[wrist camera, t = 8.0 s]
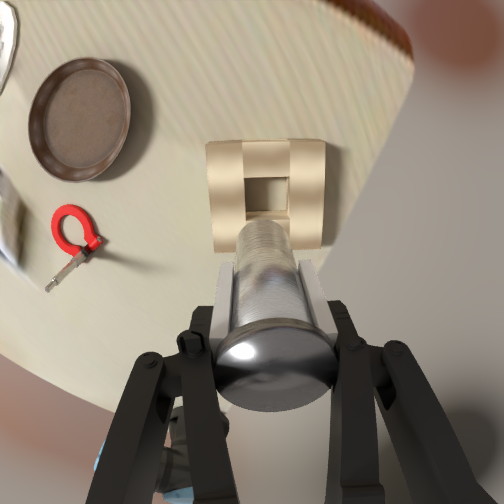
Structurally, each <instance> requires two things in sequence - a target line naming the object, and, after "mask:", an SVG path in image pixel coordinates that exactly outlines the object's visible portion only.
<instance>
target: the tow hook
mask: <svg viewBox="0 0 504 504" xmlns="http://www.w3.org/2000/svg"><path fill="white" fill-rule="evenodd" d="M64 215H72V216H75V217H76V218H77V219H78V220H79V221H80V222H81V224H82V226H83V229H84V239H85V241H86V242H87V243H88V244H87V245H86V246H85V247H84V248H82V249H81V248H80V247H79V246H78V245H77V246H75V245H71V244H69V243H68V242H67V241H66V240H65V239H64V238H63V236H62V234H61V231H60V222H61V219H62V217H63V216H64ZM51 229H52V234H53V237H54V239H55V241H56V243H57V244H58V246H59V247H60V248H61V249H62V250H63V251H65V252H66V253H68V254H70V255H72V256H73V258H72V259H71V261H70V262H69V263H68V264H67V265H66V266H65V267H64V268H63V269H62V270H61V271H60V272H59V273H58V274H57V275H56V276H54V277H53V278H52V281H51V282H50V283H49V284H48V285H47V286H46V287H45V290H46V292H50V291H51V290H52V289H53V288H54V286H57V285H59V284H60V283H61V281H62V280H63V279H64V278H65V277H66V276H67V275H68V274H69V273H70V272H71V271H73V270H74V269H75V268H77V267H78V266H79V265H80V264H81V263H83V262H84V261H85V260H86V259H87V258H88V257H89V256H90V255H91V254H92V253H93V252H94V251H95V249H96V248H97V247H98V246H99V245H100V244H101V243H102V242H103V240H102V238H101V237H100V236H97V235H96V234H95V233H94V229H93V225H92V222H91V220H90V218H89V216H88V215H87V214H86V213H85V211H84V210H82V209H81V208H80V207H78V206H75V205H72V204H67V205H63V206H61V207H60V208H58V209H57V210H56V211H55V213H54V214H53V217H52V222H51Z"/></svg>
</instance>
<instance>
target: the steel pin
mask: <svg viewBox="0 0 504 504" xmlns="http://www.w3.org/2000/svg"><path fill="white" fill-rule="evenodd" d="M337 375H338V362H337V358H336V355H335V352H334V349H333V345H332V342H331V340H330V338H329V337H328V336H327V334H326V333H325V332H324V331H323V330H321V329H320V328H318V327H317V326H315V325H313V324H312V320H311V316H310V313H309V309H308V305H307V302H306V298H305V295H304V291H303V287H302V284H301V280H300V277H299V273H298V270H297V266H296V263H295V259H294V256H293V252H292V249H291V246H290V242H289V239H288V236H287V233H286V231H285V230H284V228H283V227H282V226H281V225H279V224H278V223H276V222H274V221H272V220H267V219H259V220H255V221H252V222H250V223H248V224H247V225H245V226H244V227H243V228H242V229H241V231H240V232H239V235H238V237H237V245H236V258H235V271H234V286H233V301H232V316H231V331H230V333H229V334H228V335H227V336H226V337H225V338H224V339H223V340H222V341H221V343H220V344H219V346H218V348H217V350H216V353H215V360H214V369H213V377H214V382H215V387H216V389H217V391H218V392H219V393H220V395H221V396H222V397H224V398H225V399H226V400H227V401H229V402H231V403H232V404H234V405H236V406H239V407H241V408H245V409H248V410H253V411H260V412H279V411H286V410H291V409H295V408H298V407H302V406H304V405H307V404H309V403H311V402H313V401H315V400H316V399H318V398H320V397H321V396H322V395H323V394H325V393H326V392H327V391H328V390H329V389H330V388H331V386H332V385H333V384H334V382H335V380H336V378H337Z"/></svg>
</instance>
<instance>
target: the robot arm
mask: <svg viewBox="0 0 504 504" xmlns="http://www.w3.org/2000/svg"><path fill="white" fill-rule="evenodd" d="M298 273H299V277H300V280H301V284H302V287H303V291H304V295H305V298H306V302H307V305H308V309H309V313H310V316H311V320H312V324H313V325H315V326H317V327H318V328H320V329H321V330H323V331H324V332H325V333H326V334H327V336H328V337H329V338H330V340H331V342H332V345H333V349H334V352H335V355H336V358H337V362H338V375H337V378H336V380H335V382H334V384H333V385H332V386H331V388H330V389H331V418H330V419H331V420H330V442H329V460H328V474H327V486H326V496H325V503H324V504H385V491H384V488H383V486H382V485H381V484H380V482H379V462H378V461H379V460H378V439H377V426H376V425H377V424H376V413H375V401H374V396H375V399H376V401H377V404H378V407H379V409H380V412H381V414H382V417H383V419H384V422H385V425H386V427H387V430H388V432H389V435H390V438H391V441H392V443H393V446H394V449H395V452H396V454H397V457H398V460H399V462H400V466H401V468H402V471H403V474H404V477H405V480H406V483H407V486H408V489H409V492H410V496H411V499H412V501H413V504H498V503H496V501H495V500H494V499H493V498H492V497H491V496H490V495H489V494H488V493H487V492H486V491H485V490H484V489H483V488H482V487H481V486H480V485H479V484H478V483H477V482H476V479H475V477H474V474H473V472H472V470H471V467H470V465H469V463H468V461H467V458H466V456H465V454H464V452H463V449H462V447H461V446H460V443H459V441H458V439H457V437H456V435H455V432H454V430H453V429H452V426H451V424H450V422H449V420H448V418H447V417H446V414H445V412H444V411H443V409H442V407H441V405H440V403H439V401H438V399H437V397H436V396H435V393H434V392H433V390H432V388H431V386H430V384H429V382H428V381H427V379H426V377H425V375H424V373H423V372H422V370H421V368H420V366H419V365H418V363H417V361H416V359H415V358H414V356H413V355H412V353H411V351H410V349H409V348H408V346H407V345H406V344H405V343H403V342H401V341H397V340H391V341H389V342H387V343H386V344H385V345H384V347H378V346H371V345H368V344H367V343H366V341H365V340H364V339H363V338H361V337H359V336H358V334H357V331H356V329H355V327H354V324H353V322H352V320H351V318H350V315H349V313H348V310H347V308H346V306H345V305H344V304H343V303H342V302H341V301H340V300H336V301H327V300H326V298H325V295H324V292H323V290H322V287H321V284H320V282H319V279H318V276H317V274H316V271H315V268H314V266H313V263H312V261H311V260H299V266H298ZM233 286H234V267H233V262H221V263H220V269H219V276H218V282H217V288H216V295H215V301H214V306H198V307H197V308H196V309H195V310H194V312H193V314H192V320H191V323H190V327H189V330H185V331H183V332H182V333H180V334H179V335H178V337H177V345H178V349H179V353H177V354H175V355H172V356H168V357H162V355H160V354H159V353H156V352H146V353H143V354H142V355H140V356H139V357H138V358H137V360H136V362H135V364H134V366H133V369H132V371H131V374H130V376H129V379H128V381H127V384H126V386H125V389H124V392H123V394H122V397H121V399H120V402H119V405H118V407H117V410H116V413H115V416H114V418H113V421H112V424H111V426H110V429H109V432H108V435H107V438H106V439H105V441H104V443H103V445H102V447H101V449H100V452H99V455H98V457H97V459H96V462H95V465H94V470H95V473H94V477H93V480H92V483H91V487H90V490H89V493H88V497H87V500H86V503H85V504H152V498H153V497H154V496H155V492H158V493H162V494H163V495H162V497H163V499H164V500H165V501H166V502H170V503H174V504H240V501H239V497H238V493H237V488H236V484H235V480H234V476H233V471H232V467H231V462H230V458H229V453H228V448H227V443H226V437H227V434H228V432H229V420H228V419H227V417H226V416H225V415H223V414H222V413H220V407H219V402H218V396H217V391H216V387H215V382H214V377H213V369H214V360H215V353H216V350H217V348H218V346H219V344H220V343H221V341H222V340H223V339H224V338H225V337H226V336H227V335H228V334H229V333H230V331H231V316H232V301H233ZM179 396H182V397H183V406H181V407H177V408H175V409H173V405H174V401H175V397H179ZM172 409H173V410H172ZM168 428H169V433H170V438H171V448H168V447H165V446H164V443H165V439H166V434H167V430H168Z"/></svg>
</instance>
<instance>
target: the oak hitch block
mask: <svg viewBox="0 0 504 504" xmlns="http://www.w3.org/2000/svg"><path fill="white" fill-rule="evenodd" d="M205 148H206V162H207V175H208V187H209V198H210V210H211V220H212V231H213V241H214V251H215V253H225V252H236V245H237V237H238V235H239V232H240V231H241V229H242V228H243V227H244V226H245V225H247V224H248V223H250V222H252V221H255V220H259V219H267V220H272V221H274V222H276V223H278V224H279V225H281V226H282V227H283V228H284V230H285V231H286V233H287V236H288V239H289V242H290V246H291V249H292V250H302V249H321V242H322V226H323V208H324V184H325V141H322V140H320V139H251V140H230V141H214V142H208V143H207V144H206V145H205ZM252 177H287V210H282V211H253V212H246V203H245V182H244V178H252Z"/></svg>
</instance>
